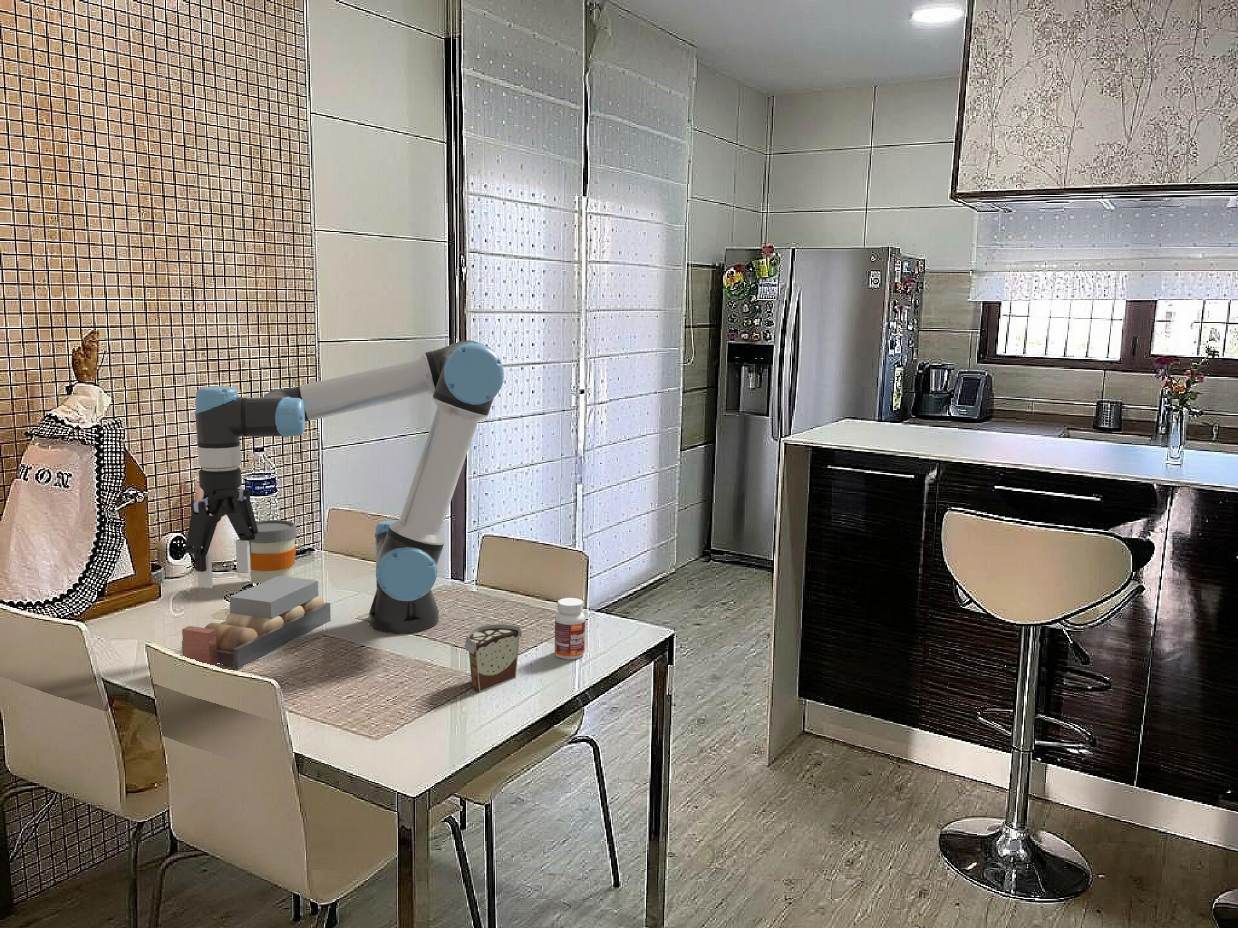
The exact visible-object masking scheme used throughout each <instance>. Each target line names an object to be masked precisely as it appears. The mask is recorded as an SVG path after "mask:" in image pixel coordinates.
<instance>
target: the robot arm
mask: <svg viewBox="0 0 1238 928" xmlns="http://www.w3.org/2000/svg"><path fill="white" fill-rule="evenodd" d="M504 379H505V371H504V365H503V363H502V360H501V358H500V356H499V355H498V353H497V352H496V351H495V350H494V349H493V348H492V347H490V346H488V345H485V344H484V343H481V342H477V341H474V340H461V341H457V342H454V343H451V344H449V345H446V346H444V347H441V348H438V349H434V350H430V351H427V352H423V353H422V355H421V356H420V358H417V359H413V360H408V361H405V362H400V363H399V362H398V363H396V364H392V365H391V364H390V365H385V366H383V367H377V368H374V369H370V370H369V369H368V370H363V371H360V372H356V373H352V374H350V373H349V374H347V375H346V374H345V375H342V376H337V377H333V378H329V379H324V380H320V381H319V380H318V381H315V382H311V383H307V384H306V383H305V384H302V385H298V386H294V387H293V386H292V387H290V388H289V387H288V388H284V389H282V388H279V389H273V390H271V391H268V393H266V394H265V395H263V397H244V396H243V397H242V396H241V397H240V396H239V394H238V389H237V388H236V387H233V386H221V385H220V386H216V385H215V386H205V387H200V388H199V389H197V390H196V392H195V410H194V415H195V427H196V429H195V430H196V442H197V443H196V444H197V445H196V446H197V457H198V458H197V459H198V461H197V462H198V467H200V469H199V470H198V486H199V488H200V489H201V490H202V491H203V495H202V499H200V500H191V501H190V521H189V526H188V532H187V536H186V537H187V538H186V544H185V553H186V554H192V555H194V558H195V559H194V561H195V570H196V572H197V583H198V584H197V586H198V588H200V587H201V588H204V589H205V588H206V589H212V588H214V583H213V564H212V553H208V552H209V550H210V547H211V544H212V541H213V538H214V535H215V532H216V529H217V526H218V523H219V522H220V521H222V518H223V517H224V516H227V518H228V521H229V522H230V524H231V526H232V527H233V529H234V532H235V534H236V535H237V537H238V538H239V539H236V540H235V554H236V555H235V558H236V572H238V573H245V574H250V572H251V567H250V554H251V540H254V539H255V537H256V536H255V535H256V534H257V533H258V528H257V524H256V522H257V520H256V517H255V513H254V509H253V506H252V502H251V490H250V489H246V488H240V487H242V484H243V483H242V481H243V480H242V468H240V466H241V465H242V457H241V455H242V454H241V445H240V444H241V441H240V438H241V437H245V438H248V437H283V438H288V437H298V436H302V435H304V434H305V429H306V428H305V426H306V425H305V423H306V422H307V423H308V422H310V421H314V420H318V419H323V418H327V417H332V416H335V415H341V414H345V413H349V412H355V411H358V410H362V409H367V408H370V407H376V406H379V405H380V406H381V405H384V404H389V403H393V402H398V401H403V400H406V399H411V398H415V397H419V396H424V395H427V394H428V395H430V396H432V400H433V402H434V404H435V407H436V411H435V414H434V417H433V418H432V423H431V425H430V429H429V431H428V434H427V436H426V437H427V438H426V440H425V443H424V445H423V446H424V447H423V449H422V452H421V454H420V455H421V456H420V458H419V461H418V464H417V467H416V470H415V473H414V476H413V478H412V482H411V484H410V488H409V491H408V493H407V497H406V500H405V502H404V506H403V508H402V512H401V514H400V518H399V519H391V520H384V521H380V522H378V523H377V524H376V526H375V533H374V538H375V568H376V569H375V577H376V582H375V583H376V590H375V593H374V596H373V600H372V603H371V605H370V609H369V611H368V612H369V613H368V625H369V626H370V627H371V628H372V629H374V630H375V631H380V632H384V633H391V634H406V633H407V634H409V633H415V632H421V631H424V630H428V629H430V628H433V627H434V626H436V625H437V624H438V623H439V620H440V617H439V616H440V614H439V613H440V611H439V608H438V605H437V602H436V599H435V596H434V593H433V590H432V589H433V587H434V585H435V583H436V581H437V577H438V575H437V574H438V567H437V566H438V564H439V560H440V557H441V554H442V552H443V549H444V546H445V542H446V541H445V539H444V536H443V535H442V528H443V527H444V526H443V524H444V522H445V519H446V516H447V514H448V510H449V507H450V505H451V502H452V498H453V497H454V493H455V491H456V487H457V484H458V481H459V479H460V474H461V472H462V470H463V467H464V464H465V461H466V457H467V456H468V455H467V454H468V452H469V448H470V445H471V443H472V440H473V437H474V434H475V432H476V431H475V430H476V428H477V425H478V423H479V422H480V421H482V420H484V419H486V418H488V415H489V413H490V411H491V407H492V405H493V401H494V398H495V397H496V396H497V395H498V394H499V393H500V390H501V389H502V387H503V385H504V384H503V383H504ZM249 527H251V528H249ZM254 534H255V535H254Z"/></svg>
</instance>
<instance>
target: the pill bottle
mask: <svg viewBox="0 0 1238 928" xmlns="http://www.w3.org/2000/svg"><path fill="white" fill-rule="evenodd" d="M583 610H584V602H583V600H582V599H580V598H577V597H576V598H575V597H564V598H561V599H559V600H558V601H557V611H558V612H557V613H556V614H555V616H554V655H555V656H556V657H557V658H559V659H561V660H562V659H563V660H569V661H571V660H577V659H580V658H582V657H584V655H585V650H586V649H585V648H586V646H585V645H586V644H585V640H586V616H585V614H584V613H583Z"/></svg>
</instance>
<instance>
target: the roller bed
mask: <svg viewBox="0 0 1238 928" xmlns="http://www.w3.org/2000/svg"><path fill="white" fill-rule="evenodd" d="M331 615H332V614H331V602H324V604H322V605H320V606H318V607H316V608H314V609H312V610H310V611H308V612H306V613H304V614H302V615H300V616H298V617H296V618H294V619H292V620H290V621H288V622H286V623H284V624H282V625H280V626H278V627H276V628H274V629H272V630H270V631H268V632H266V633H264V634H262V635H260V636H258V637H256V638H254V639H252V640H250V641H248V642H246V643H244V644H242V645H240V646H238V647H236V648H234V649H233V652H232V651H225V650H219V649H217V646H216V630H214V629H207V628H205V627H200V626H195V625H194V626H193V625H189V626H187V627H184V628H182V629H181V633H182V634H181V636H182V640H181V650H182V651H181V652H182V657H183V656H185V657H187V658H190V659H195V660H196V661H199V662H202V663H207V664H210V665H215V666H218V665H219V664H217V663H220V664H223V665H222V666H225V665H227V666H228V667H233V670H240V669H242V668H243V666H244V665H246V664H248V663H249V664H251V663H253V662H255V661H257V660H258V659H261V658H262V657H264V656H267V655H268V654H270V653H272V652H274V651H275V650H277V649H280V648H281V647H283V646H285V645H287V644H289V643H291V642H293V641H294V640H297V639H298V638H300V637H301V636H304V635H306V634H308V633H309V632H311V631H313V630H316V629H317V628H319V627H321V626H322V625H325V624H326V623H328V622H330V621H331ZM219 624H225V620H224V621H222V622H220V623H219ZM256 659H257V660H256ZM252 661H253V662H252ZM249 664H248V665H249ZM227 666H226V667H227ZM246 666H247V665H246ZM218 667H219V666H218ZM241 667H242V668H241ZM244 667H245V666H244ZM235 668H236V669H235Z"/></svg>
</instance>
